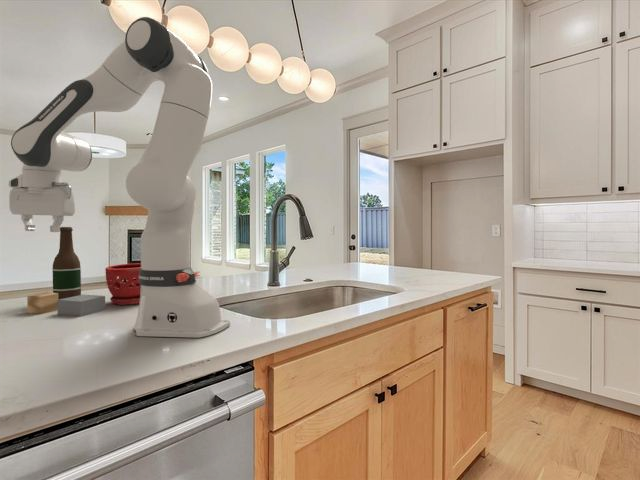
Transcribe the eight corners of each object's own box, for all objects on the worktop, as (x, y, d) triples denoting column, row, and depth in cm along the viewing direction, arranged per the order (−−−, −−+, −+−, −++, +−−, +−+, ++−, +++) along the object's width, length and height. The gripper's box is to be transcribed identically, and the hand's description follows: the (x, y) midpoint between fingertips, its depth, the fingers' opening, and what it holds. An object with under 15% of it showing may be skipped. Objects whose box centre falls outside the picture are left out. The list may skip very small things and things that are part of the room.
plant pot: (123, 297, 123) (122, 262, 123) (160, 298, 122) (159, 263, 122) (96, 306, 110) (95, 267, 110) (137, 307, 109) (136, 267, 109)
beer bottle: (86, 302, 116) (85, 227, 115) (59, 306, 109) (57, 227, 108) (75, 299, 120) (73, 226, 119) (47, 303, 113) (46, 226, 113)
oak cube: (58, 310, 105) (58, 293, 105) (41, 314, 100) (41, 296, 100) (45, 309, 106) (44, 292, 106) (27, 313, 101) (27, 295, 101)
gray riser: (105, 309, 106) (105, 296, 106) (81, 316, 98) (80, 301, 98) (83, 307, 108) (83, 294, 108) (57, 314, 100) (57, 299, 100)
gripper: (81, 183, 102) (81, 232, 103) (27, 183, 108) (27, 230, 108) (59, 180, 96) (59, 232, 96) (4, 181, 102) (4, 230, 102)
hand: (42, 231), depth 102 cm, fingers open, 8 cm apart
